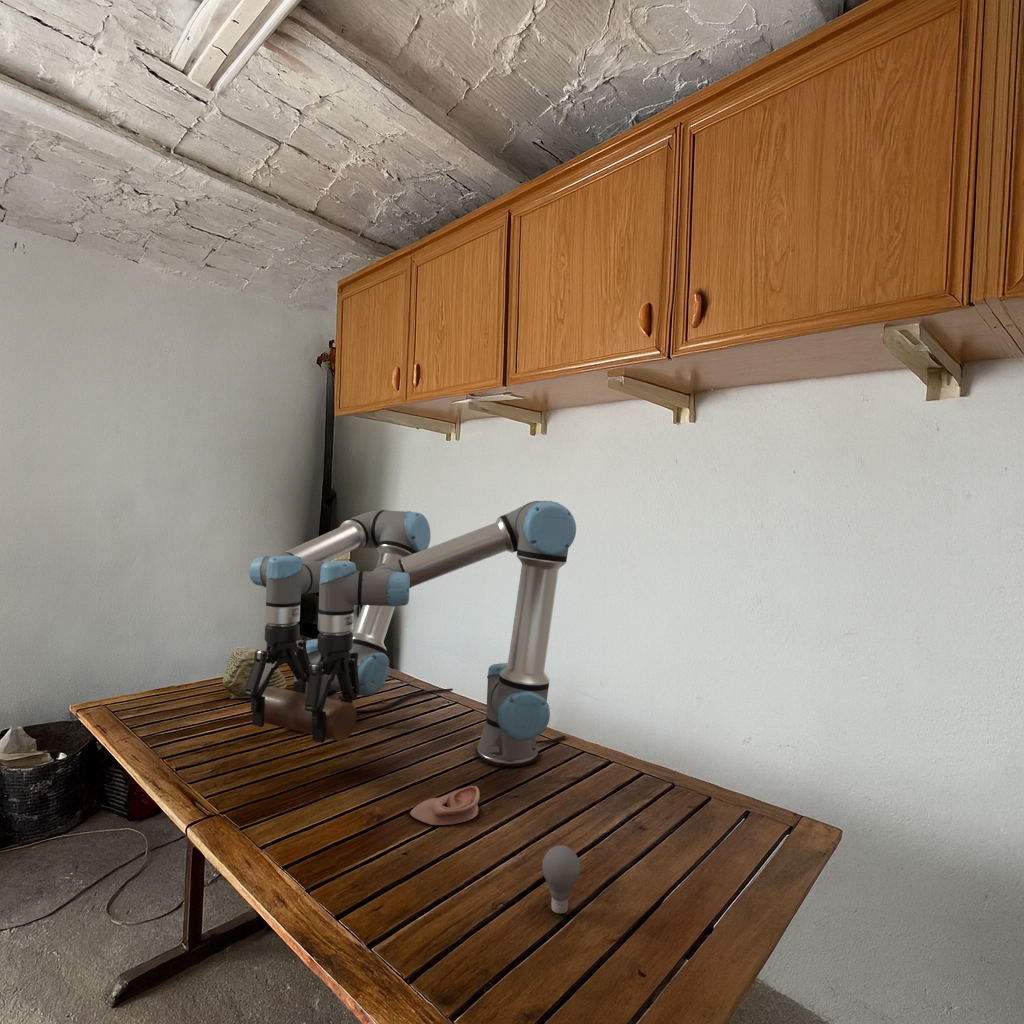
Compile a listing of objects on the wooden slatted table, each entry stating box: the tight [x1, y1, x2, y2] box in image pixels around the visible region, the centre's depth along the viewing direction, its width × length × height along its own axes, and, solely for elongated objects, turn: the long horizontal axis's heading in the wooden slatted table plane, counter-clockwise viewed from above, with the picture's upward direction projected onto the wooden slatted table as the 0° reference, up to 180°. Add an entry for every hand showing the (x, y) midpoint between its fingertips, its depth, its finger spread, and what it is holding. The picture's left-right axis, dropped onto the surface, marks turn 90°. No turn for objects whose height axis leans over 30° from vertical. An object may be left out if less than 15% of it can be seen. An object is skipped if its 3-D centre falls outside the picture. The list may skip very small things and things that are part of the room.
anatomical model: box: [409, 785, 481, 826], centre depth 129 cm, size 13×4×12 cm
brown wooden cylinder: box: [262, 687, 358, 742], centre depth 142 cm, size 22×8×8 cm, turn 66°
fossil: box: [222, 646, 288, 699], centre depth 198 cm, size 9×18×15 cm, turn 132°
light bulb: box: [541, 844, 581, 914], centre depth 99 cm, size 6×6×10 cm
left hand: (279, 717), depth 146 cm, fingers open, 12 cm apart
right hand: (332, 734), depth 139 cm, fingers closed on brown wooden cylinder, 8 cm apart
